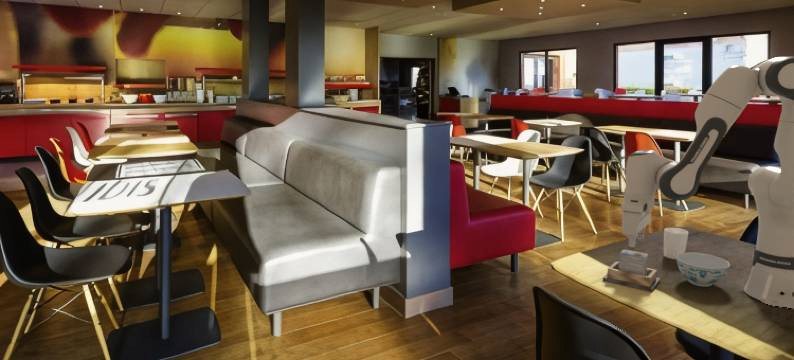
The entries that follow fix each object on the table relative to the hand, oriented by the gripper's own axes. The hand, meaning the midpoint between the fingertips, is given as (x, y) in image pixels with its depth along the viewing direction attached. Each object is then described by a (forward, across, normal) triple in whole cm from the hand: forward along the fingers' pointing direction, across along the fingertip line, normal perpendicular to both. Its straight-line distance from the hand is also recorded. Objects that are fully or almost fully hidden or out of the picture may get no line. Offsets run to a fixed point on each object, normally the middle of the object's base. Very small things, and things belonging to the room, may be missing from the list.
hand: (636, 242), depth 170 cm
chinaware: (+14, -12, +17) cm, 25 cm away
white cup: (+14, -34, +5) cm, 37 cm away
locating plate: (+13, 0, -1) cm, 13 cm away
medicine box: (+12, 0, 0) cm, 12 cm away
